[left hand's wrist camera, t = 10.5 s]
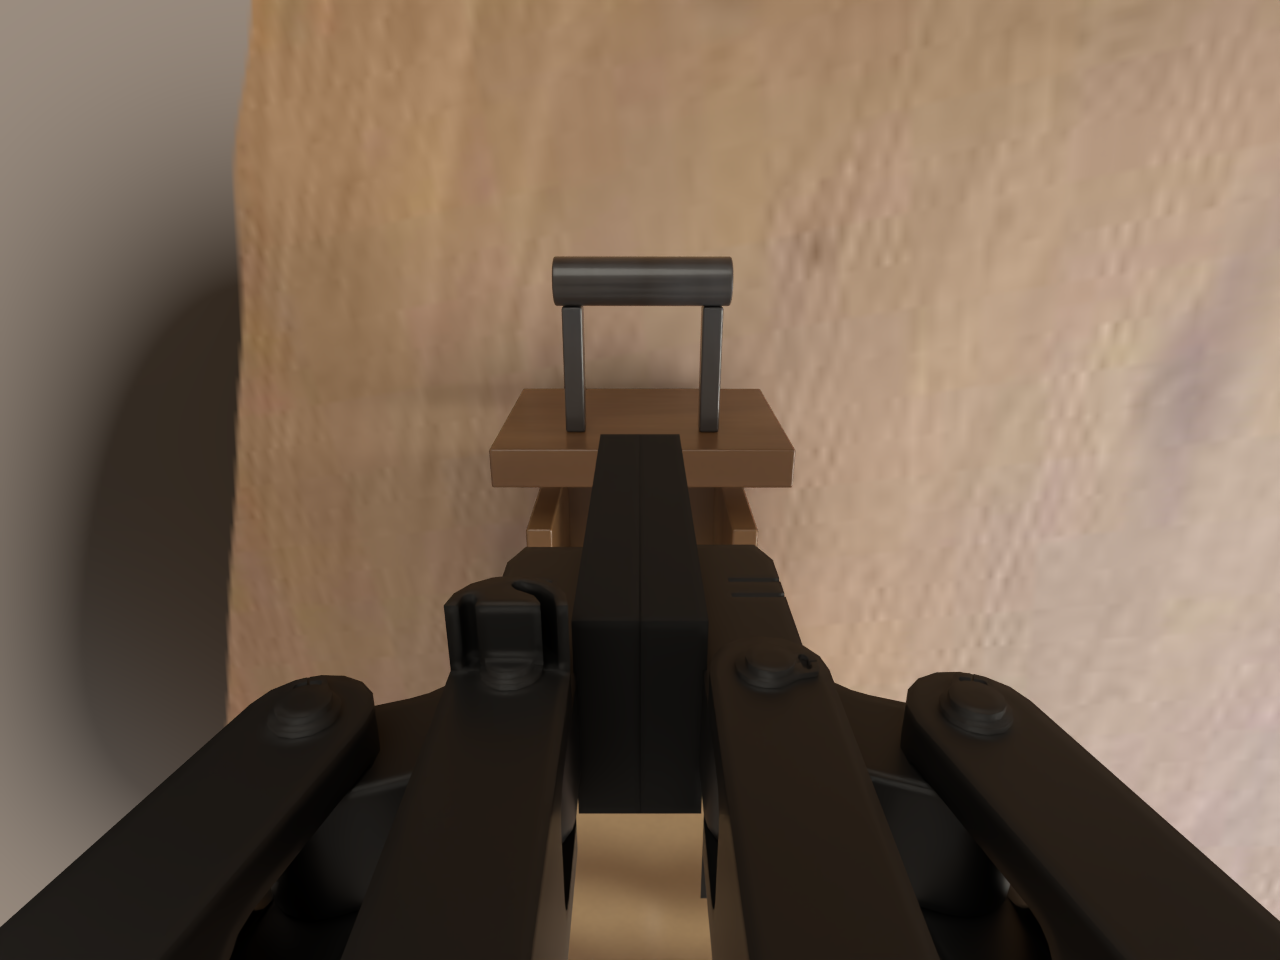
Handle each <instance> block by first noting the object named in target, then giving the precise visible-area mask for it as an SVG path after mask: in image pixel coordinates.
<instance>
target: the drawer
mask: <svg viewBox="0 0 1280 960" xmlns="http://www.w3.org/2000/svg"><path fill="white" fill-rule="evenodd" d="M552 291H553V300H554V303H555V305H556V306H563V307H562V334H563V362H564V389H524V390H523V391H522V393H521V395H520V397H519V398H518V400H517V402H516V404H515V406H514V407H513V409H512V411H511V413H510V414H509V416H508V418H507V420H506V422H505V423H504V425H503V427H502V429H501V430H500V432H499V434H498V436H497V438H496V439H495V441H494V443H493V445H492V446H491V448H490V450H489V453H490V467H491V480H492V486H493V487H540V490H539V493H538V496H537V499H536V502H535V505H534V508H533V511H532V515H531V518H530V521H529V524H528V527H527V530H526V536H527V547H583V543H584V536H585V530H586V524H587V517H588V511H589V504H590V498H591V492H592V485H593V479H594V472H595V466H596V460H597V453H598V447H599V440H600V434H680V440H681V447H682V453H683V460H684V466H685V472H686V479H687V485H688V492H689V498H690V504H691V511H692V517H693V524H694V530H695V536H696V543H697V545H755V546H756V547H757V540H758V529H757V526H756V524H755V521H754V518H753V515H752V512H751V509H750V506H749V503H748V500H747V497H746V494H745V491H744V488H743V487H792V486H793V475H794V462H795V449H794V447H793V446H792V444H791V442H790V440H789V439H788V437H787V435H786V434H785V432H784V430H783V428H782V427H781V425H780V423H779V421H778V420H777V418H776V416H775V415H774V413H773V411H772V409H771V408H770V406H769V404H768V402H767V401H766V399H765V397H764V396H763V394H762V392H761V390H760V389H720V380H721V355H722V330H723V307H722V306H729V305H730V304H731V300H732V292H733V262H732V258H731V257H554V258H553V263H552ZM583 306H702V308H701V341H700V375H699V389H585V352H584V313H583Z"/></svg>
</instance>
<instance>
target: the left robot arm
mask: <svg viewBox="0 0 1280 960" xmlns="http://www.w3.org/2000/svg"><path fill="white" fill-rule="evenodd" d="M444 612H445V621H446V630H447V639H448V649H449V658H450V667H451V672H450V674H449V677H448V679H447V682H446V685H445V686H444V687H442V688H440V689H437V690H435V691H433V692H431V693H428V694H424V695H421V696H417V697H414V698H410V699H405V700H401V701H396V702H391V703H386V704H381V705H377V706H374V699H373V693H372V692H371V691H370V690H369V689H368V688H367V687H366V685H365V684H364V683H363V682H361V681H358V680H355V679H352V678H349V677H346V676H329V675H320V676H314V677H310V678H303V679H299V680H295V681H293V682H290V683H288V684H285V685H283V686H280V687H278V688H275V689H273V690H271V691H269V692H268V693H266V694H265V695H263V696H262V697H260V698H259V699H257V700H256V701H254V702H253V703H252V704H250V705H249V706H248V707H247V708H246V709H245V710H243V711H242V712H241V713H240V714H239V715H238V716H237V717H236V718H234V719H233V720H232V721H231V722H230V723H229V724H228V725H227V726H225V727H224V728H223V729H222V730H221V731H220V732H219V733H218V734H216V735H215V736H214V737H213V738H212V739H211V740H210V741H209V742H208V743H206V744H205V745H204V746H203V747H202V748H201V749H200V750H199V751H197V752H196V753H195V754H194V755H193V756H192V757H191V758H190V759H188V760H187V761H186V762H185V763H184V764H183V765H182V766H181V767H180V768H178V769H177V770H176V771H175V772H174V773H173V774H172V775H170V776H169V777H168V778H167V779H166V780H165V781H164V782H163V783H162V784H160V785H159V786H158V787H157V788H156V789H155V790H154V791H153V792H151V793H150V794H149V795H148V796H147V797H146V798H145V799H144V800H142V801H141V802H140V803H139V804H138V805H137V806H136V807H135V808H133V809H132V810H131V811H130V812H129V813H128V814H127V815H126V816H125V817H123V818H122V819H121V820H120V821H119V822H118V823H117V824H116V825H114V826H113V827H112V828H111V829H110V830H109V831H108V832H107V833H105V834H104V835H103V836H102V837H101V838H100V839H99V840H98V841H96V842H95V843H94V844H93V845H92V846H91V847H90V848H89V849H87V850H86V851H85V852H84V853H83V854H82V855H81V856H80V857H79V858H77V859H76V860H75V861H74V862H73V863H72V864H71V865H70V866H68V867H67V868H66V869H65V870H64V871H63V872H62V873H61V874H59V875H58V876H57V877H56V878H55V879H54V880H53V881H52V882H50V883H49V884H48V885H47V886H46V887H45V888H44V889H43V890H42V891H40V892H39V893H38V894H37V895H36V896H35V897H34V898H33V899H31V900H30V901H29V902H28V903H27V904H26V905H25V906H24V907H22V908H21V909H20V910H19V911H18V912H17V913H16V914H15V915H13V916H12V917H11V918H10V919H9V920H8V921H7V922H6V923H5V924H3V925H2V926H1V927H0V960H568V952H569V941H570V930H571V919H572V908H573V896H574V885H575V874H576V863H577V852H578V846H577V821H576V815H577V805H578V809H579V814H701V809H702V801H703V811H704V821H703V846H702V871H701V896H700V898H707V907H708V918H709V929H710V940H711V951H712V960H1280V921H1279V920H1278V919H1277V918H1275V917H1274V916H1273V915H1272V914H1271V913H1270V912H1269V911H1268V910H1266V909H1265V908H1264V907H1263V906H1262V905H1261V904H1260V903H1258V902H1257V901H1256V900H1255V899H1254V898H1253V897H1252V896H1251V895H1249V894H1248V893H1247V892H1246V891H1245V890H1244V889H1243V888H1242V887H1240V886H1239V885H1238V884H1237V883H1236V882H1235V881H1234V880H1232V879H1231V878H1230V877H1229V876H1228V875H1227V874H1226V873H1225V872H1223V871H1222V870H1221V869H1220V868H1219V867H1218V866H1217V865H1216V864H1214V863H1213V862H1212V861H1211V860H1210V859H1209V858H1208V857H1206V856H1205V855H1204V854H1203V853H1202V852H1201V851H1200V850H1199V849H1197V848H1196V847H1195V846H1194V845H1193V844H1192V843H1191V842H1190V841H1188V840H1187V839H1186V838H1185V837H1184V836H1183V835H1182V834H1180V833H1179V832H1178V831H1177V830H1176V829H1175V828H1174V827H1173V826H1171V825H1170V824H1169V823H1168V822H1167V821H1166V820H1165V819H1164V818H1162V817H1161V816H1160V815H1159V814H1158V813H1157V812H1156V811H1154V810H1153V809H1152V808H1151V807H1150V806H1149V805H1148V804H1147V803H1145V802H1144V801H1143V800H1142V799H1141V798H1140V797H1139V796H1138V795H1136V794H1135V793H1134V792H1133V791H1132V790H1131V789H1130V788H1128V787H1127V786H1126V785H1125V784H1124V783H1123V782H1122V781H1121V780H1119V779H1118V778H1117V777H1116V776H1115V775H1114V774H1113V773H1112V772H1110V771H1109V770H1108V769H1107V768H1106V767H1105V766H1104V765H1102V764H1101V763H1100V762H1099V761H1098V760H1097V759H1096V758H1095V757H1093V756H1092V755H1091V754H1090V753H1089V752H1088V751H1087V750H1086V749H1084V748H1083V747H1082V746H1081V745H1080V744H1079V743H1078V742H1076V741H1075V740H1074V739H1073V738H1072V737H1071V736H1070V735H1069V734H1067V733H1066V732H1065V731H1064V730H1063V729H1062V728H1061V727H1060V726H1058V725H1057V724H1056V723H1055V722H1054V721H1053V720H1052V719H1050V718H1049V717H1048V716H1047V715H1046V714H1045V713H1044V712H1043V711H1041V710H1040V709H1039V708H1038V707H1037V706H1036V705H1035V704H1034V703H1032V702H1031V701H1030V700H1029V699H1027V698H1026V697H1024V696H1023V695H1021V694H1020V693H1018V692H1017V691H1015V690H1014V689H1012V688H1011V687H1009V686H1007V685H1004V684H1002V683H999V682H997V681H994V680H992V679H989V678H987V677H983V676H979V675H975V674H974V675H973V674H970V673H962V672H937V673H933V674H930V675H927V676H924V677H921V678H919V679H917V681H916V682H915V683H914V684H913V685H912V686H911V687H910V688H909V689H908V693H907V699H906V703H905V702H900V701H895V700H890V699H885V698H881V697H876V696H871V695H867V694H864V693H860V692H856V691H853V690H850V689H848V688H845V687H843V686H841V685H839V684H836V683H834V681H833V678H832V676H831V673H830V671H829V669H828V667H827V666H826V665H825V663H824V662H823V660H822V659H821V658H820V656H818V655H817V654H815V653H814V652H812V651H811V650H809V649H808V648H806V647H805V646H803V645H802V643H801V640H800V637H799V634H798V631H797V628H796V625H795V623H794V620H793V617H792V614H791V611H790V608H789V605H788V602H787V600H786V597H784V591H783V588H782V585H781V582H779V577H778V574H777V571H776V568H775V565H774V562H773V560H772V559H771V558H770V557H768V556H767V555H766V554H765V553H763V552H762V551H761V550H760V549H759V548H757V547H756V546H755V545H697V543H696V536H695V530H694V524H693V517H692V511H691V504H690V498H689V492H688V485H687V479H686V472H685V466H684V460H683V453H682V447H681V440H680V434H600V440H599V447H598V453H597V460H596V466H595V472H594V479H593V485H592V492H591V498H590V504H589V511H588V517H587V524H586V530H585V536H584V543H583V547H526V548H524V549H523V550H522V551H521V552H520V553H518V554H517V555H516V556H515V557H514V558H512V559H511V560H510V561H509V562H508V563H507V565H506V568H505V571H504V574H503V577H495V578H490V579H486V580H483V581H479V582H476V583H472V584H470V585H468V586H466V587H465V588H463V589H461V590H459V591H458V592H456V593H454V594H453V595H452V596H451V598H450V599H449V600H448V601H447V602H446V604H445V605H444Z"/></svg>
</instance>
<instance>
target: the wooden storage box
mask: <svg viewBox="0 0 1280 960" xmlns="http://www.w3.org/2000/svg"><path fill="white" fill-rule="evenodd" d="M576 821H577V846H578V852H577V863H576V874H575V885H574V896H573V908H572V919H571V930H570V941H569V952H568V960H712V951H711V940H710V929H709V918H708V907H707V898H700V896H701V871H702V846H703V821H704V811H703V801H702V809H701V814H579V809H578V805H577V815H576Z"/></svg>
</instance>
